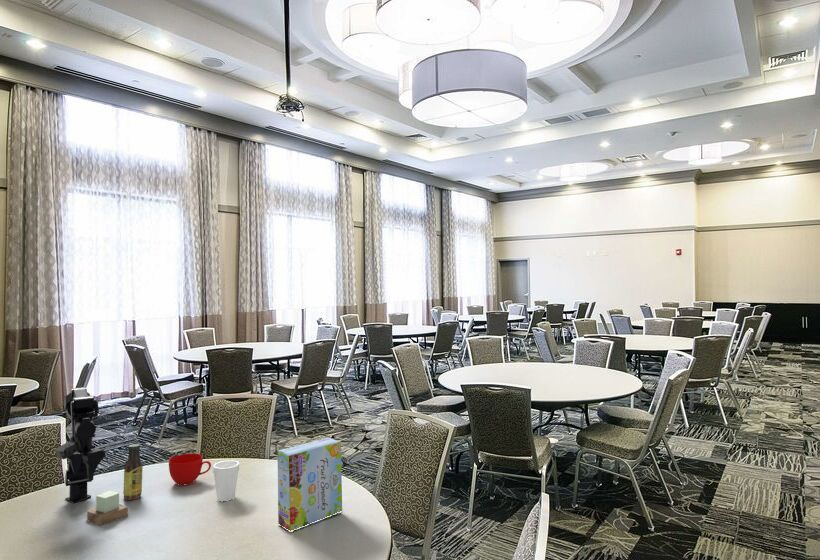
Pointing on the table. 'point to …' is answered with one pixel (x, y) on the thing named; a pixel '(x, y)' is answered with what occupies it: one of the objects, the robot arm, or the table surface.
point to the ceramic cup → (186, 468)
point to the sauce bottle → (133, 474)
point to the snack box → (309, 482)
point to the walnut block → (107, 515)
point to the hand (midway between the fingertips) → (82, 475)
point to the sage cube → (107, 501)
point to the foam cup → (226, 479)
